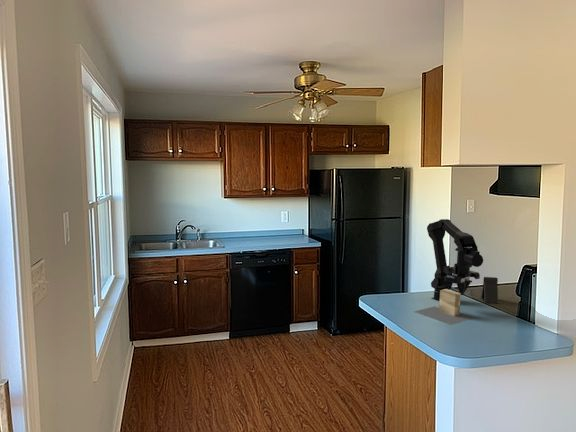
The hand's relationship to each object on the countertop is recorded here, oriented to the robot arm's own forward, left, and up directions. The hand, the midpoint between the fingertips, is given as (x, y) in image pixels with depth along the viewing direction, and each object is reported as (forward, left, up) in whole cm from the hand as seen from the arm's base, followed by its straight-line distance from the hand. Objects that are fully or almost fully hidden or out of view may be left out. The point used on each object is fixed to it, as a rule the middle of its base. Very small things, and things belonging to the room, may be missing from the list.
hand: (461, 295), depth 213 cm
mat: (+14, 0, -8) cm, 15 cm away
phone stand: (-26, -2, -8) cm, 28 cm away
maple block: (+9, 0, -7) cm, 11 cm away
